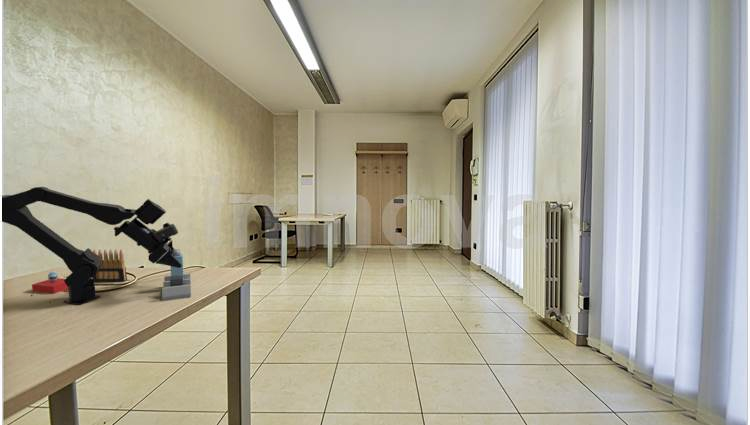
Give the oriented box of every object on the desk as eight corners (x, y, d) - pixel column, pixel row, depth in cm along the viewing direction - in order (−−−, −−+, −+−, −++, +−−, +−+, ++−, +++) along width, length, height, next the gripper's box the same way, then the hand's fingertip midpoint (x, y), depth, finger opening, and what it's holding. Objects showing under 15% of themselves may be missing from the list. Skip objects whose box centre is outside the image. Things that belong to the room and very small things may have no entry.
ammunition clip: (127, 280, 125) (125, 248, 124) (124, 281, 124) (122, 250, 122) (95, 280, 124) (93, 248, 122) (92, 282, 122) (89, 250, 121)
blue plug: (171, 288, 116) (169, 251, 115) (172, 284, 119) (170, 249, 118) (183, 286, 118) (182, 250, 116) (183, 283, 121) (182, 248, 119)
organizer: (162, 300, 108) (161, 282, 107) (165, 286, 120) (164, 270, 120) (190, 297, 112) (190, 279, 111) (190, 283, 124) (190, 267, 123)
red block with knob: (74, 287, 117) (73, 269, 116) (54, 294, 111) (52, 275, 110) (54, 285, 118) (52, 268, 117) (32, 292, 111) (30, 274, 111)
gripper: (159, 221, 105) (199, 252, 112) (163, 213, 122) (198, 240, 128) (129, 247, 103) (173, 278, 109) (137, 236, 119) (175, 263, 126)
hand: (181, 263), depth 118 cm, fingers open, 9 cm apart
